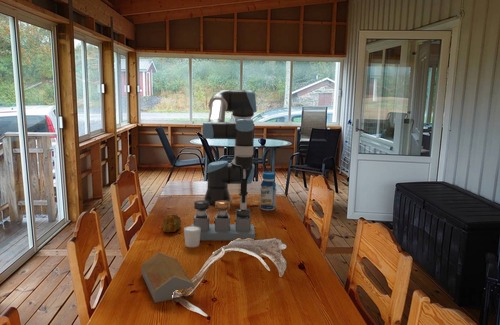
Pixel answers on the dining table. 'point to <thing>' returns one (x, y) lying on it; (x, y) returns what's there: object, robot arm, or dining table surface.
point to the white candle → (192, 236)
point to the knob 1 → (201, 208)
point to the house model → (173, 283)
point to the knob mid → (222, 208)
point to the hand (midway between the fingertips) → (243, 209)
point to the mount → (224, 228)
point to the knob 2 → (243, 213)
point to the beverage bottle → (268, 191)
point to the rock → (171, 223)
